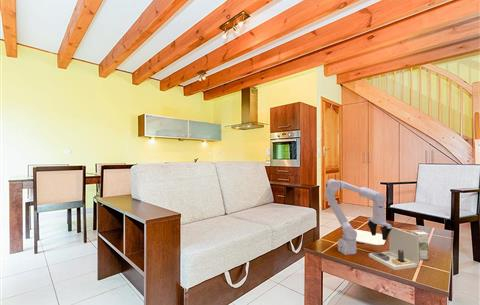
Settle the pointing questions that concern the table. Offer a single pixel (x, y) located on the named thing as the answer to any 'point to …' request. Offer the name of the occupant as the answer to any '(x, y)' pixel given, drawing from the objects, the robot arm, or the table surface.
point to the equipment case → (400, 242)
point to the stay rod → (401, 256)
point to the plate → (369, 238)
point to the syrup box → (422, 244)
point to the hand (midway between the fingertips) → (379, 237)
